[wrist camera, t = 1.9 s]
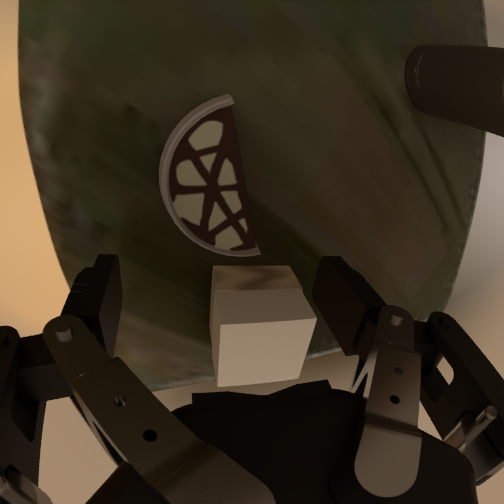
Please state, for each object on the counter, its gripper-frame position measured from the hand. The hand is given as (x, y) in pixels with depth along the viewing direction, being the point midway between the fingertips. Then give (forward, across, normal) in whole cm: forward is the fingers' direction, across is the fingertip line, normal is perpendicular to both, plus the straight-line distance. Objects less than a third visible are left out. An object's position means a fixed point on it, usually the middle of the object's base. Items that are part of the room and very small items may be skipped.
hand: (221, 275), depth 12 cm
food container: (+20, 0, 0) cm, 20 cm away
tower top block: (+15, -7, +16) cm, 23 cm away
